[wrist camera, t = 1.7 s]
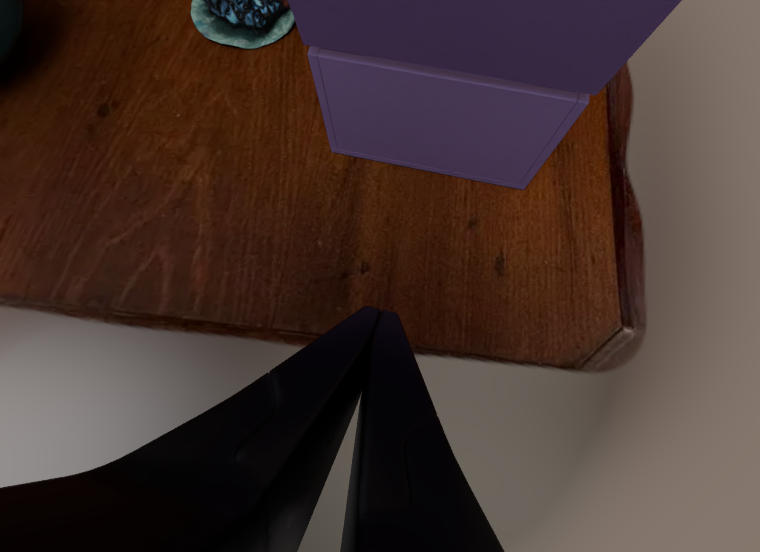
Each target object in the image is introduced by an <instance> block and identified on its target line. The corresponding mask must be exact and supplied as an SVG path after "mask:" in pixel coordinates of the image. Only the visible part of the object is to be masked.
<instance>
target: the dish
mask: <svg viewBox="0 0 760 552" xmlns="http://www.w3.org/2000/svg"><path fill="white" fill-rule="evenodd" d="M191 16H192V19H193V22H194V24H195V26H196V28H197V29H198V30H199V31H200V33H201V34H203V35H204V36H205V37H206V38H208V39H211V40H213V41H216V42H218V43H221V44H228V45H233V46H238V47H241V48H247V49H252V48H258V47H261V46H263V45H266V44H269V43H272V42H275V41H276V40H278V39H279V38H281V37H282V36H283V35H285V34H286V33H287V32H288V31H289V30H290V29H291V27H292V26H293V25H294V23H295V19H294V16H293V13H292V11H291V8H290V5H289V2H288V0H193V1H192V10H191ZM216 28H217V29H216Z"/></svg>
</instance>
